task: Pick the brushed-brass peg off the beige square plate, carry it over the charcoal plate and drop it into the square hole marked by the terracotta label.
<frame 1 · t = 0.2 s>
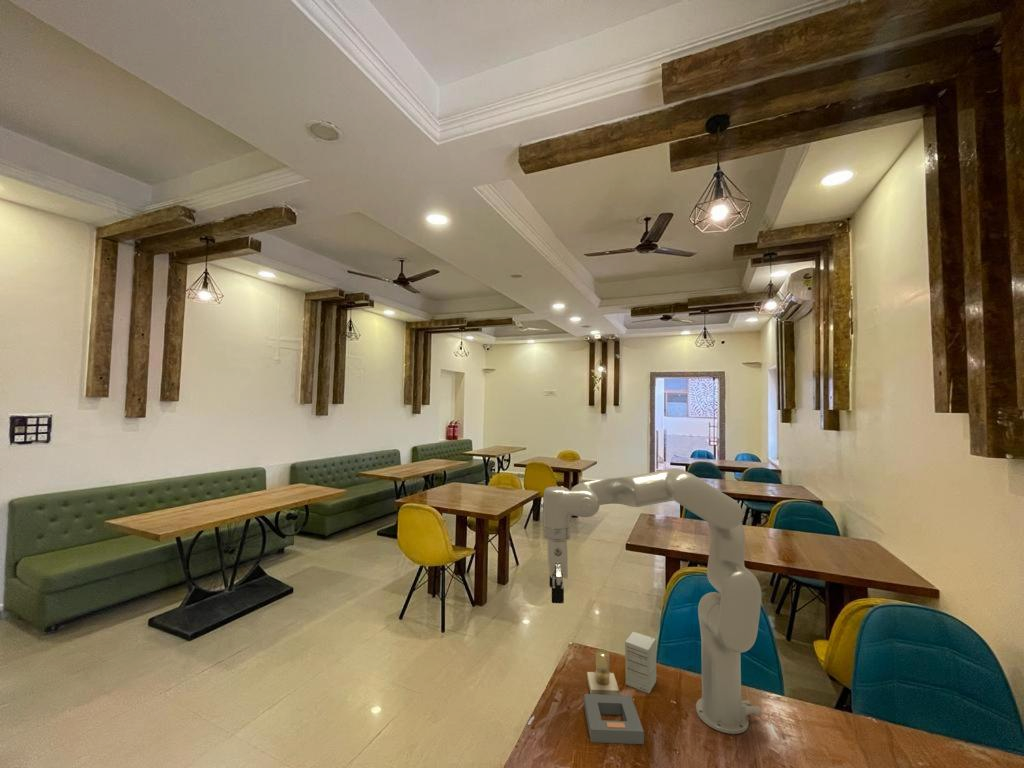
hand: (556, 594, 117), 31 cm above the table, fingers open, 9 cm apart
hole plate: (612, 723, 110), on the table
brass peg: (602, 680, 124), point 2 cm above the table, touching beige square plate
beige square plate: (602, 688, 124), on the table
supplement box: (641, 683, 127), on the table
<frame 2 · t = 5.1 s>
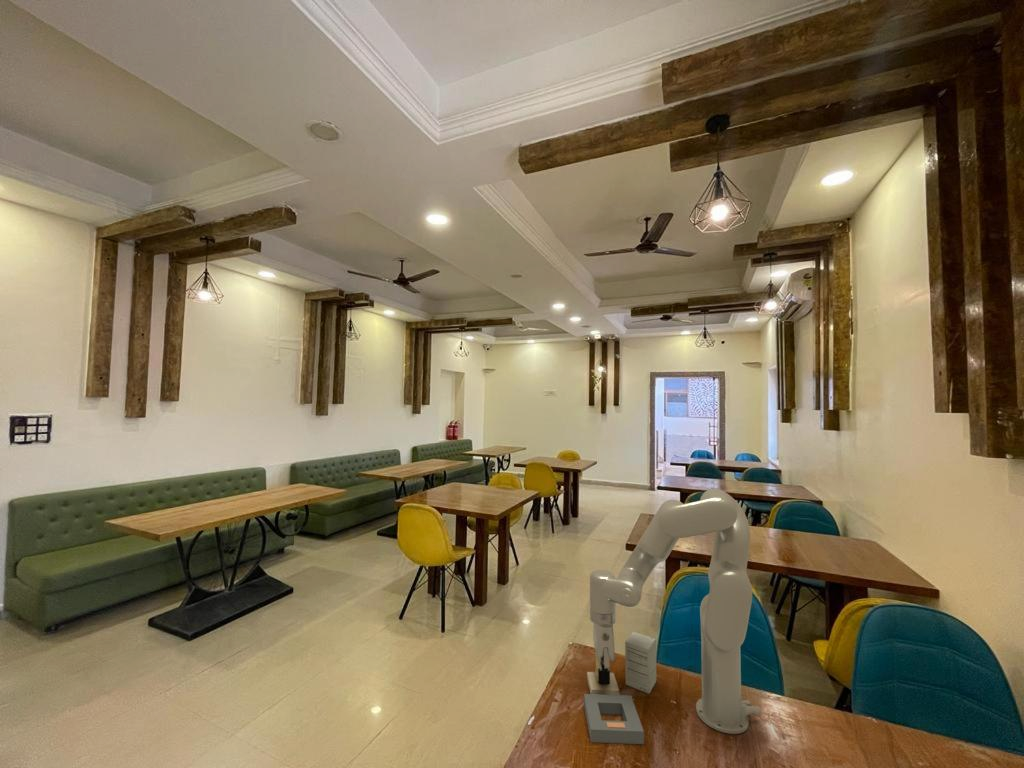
hand: (602, 677, 124), 3 cm above the table, fingers closed on brass peg, 4 cm apart
brass peg: (602, 680, 124), point 2 cm above the table, touching gripper, beige square plate
everything else where it was.
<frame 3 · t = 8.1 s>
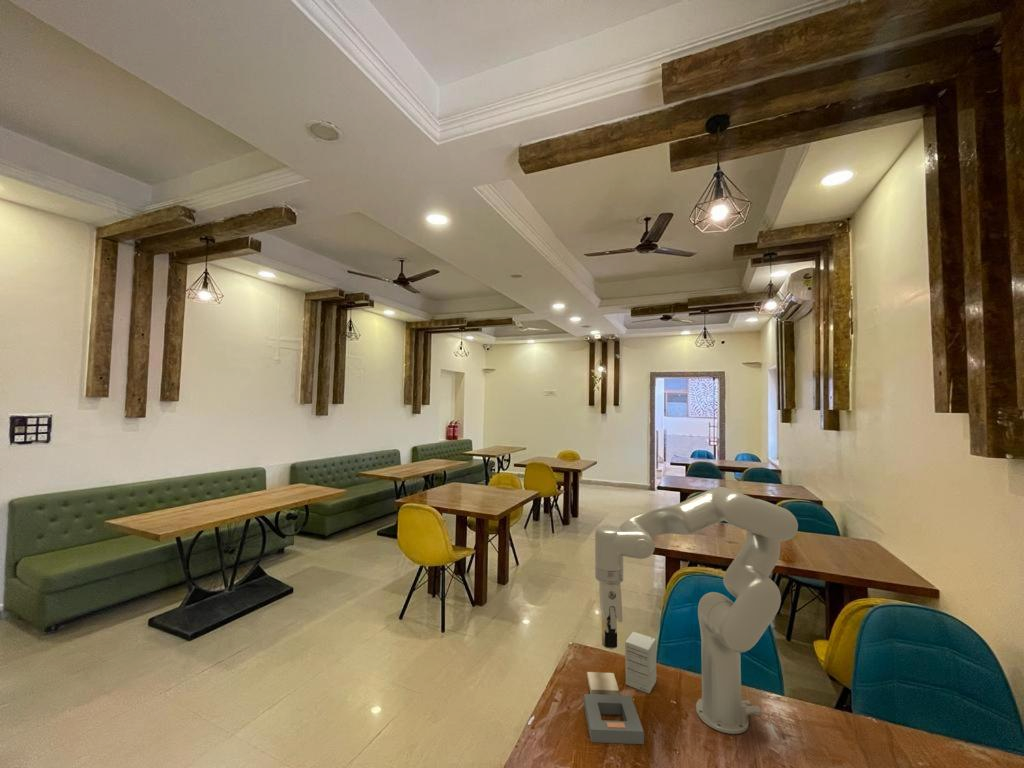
hand: (609, 641, 114), 19 cm above the table, fingers closed on brass peg, 4 cm apart
brass peg: (609, 644, 114), point 18 cm above the table, touching gripper
everything else where it was.
when the fingers open (5 cm above the table, at t = 11.6 s): brass peg drops 4 cm, resting in hole plate.
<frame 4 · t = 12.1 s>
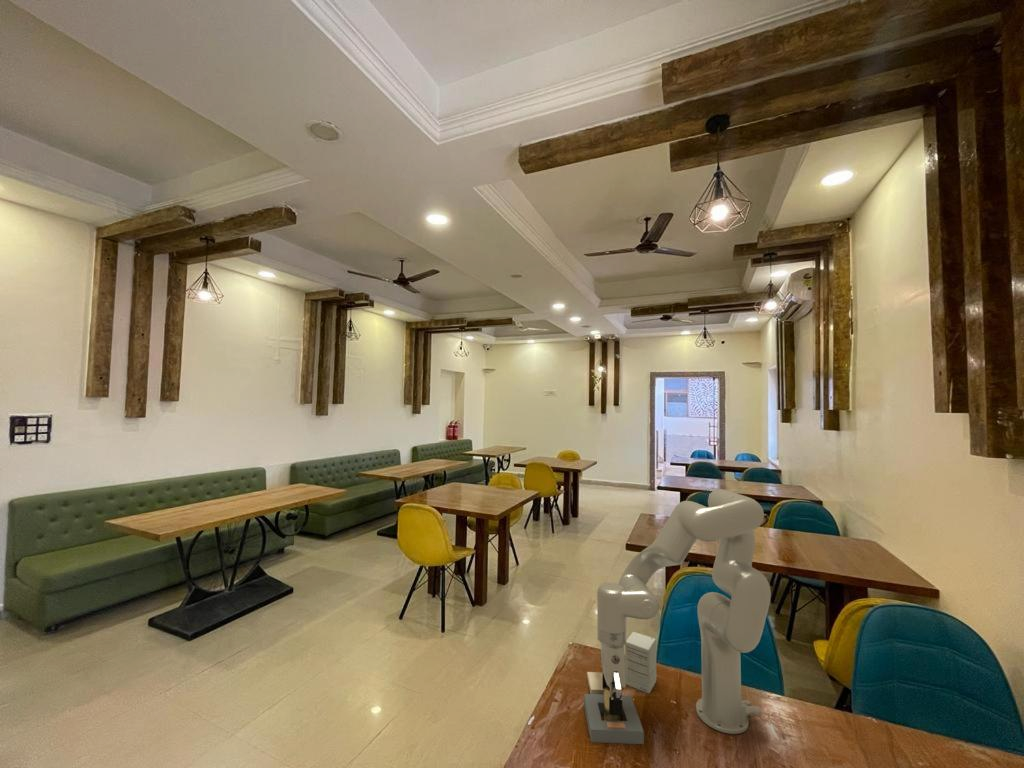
hand: (612, 701, 110), 6 cm above the table, fingers open, 9 cm apart
brass peg: (611, 723, 110), resting in hole plate
everything else where it was.
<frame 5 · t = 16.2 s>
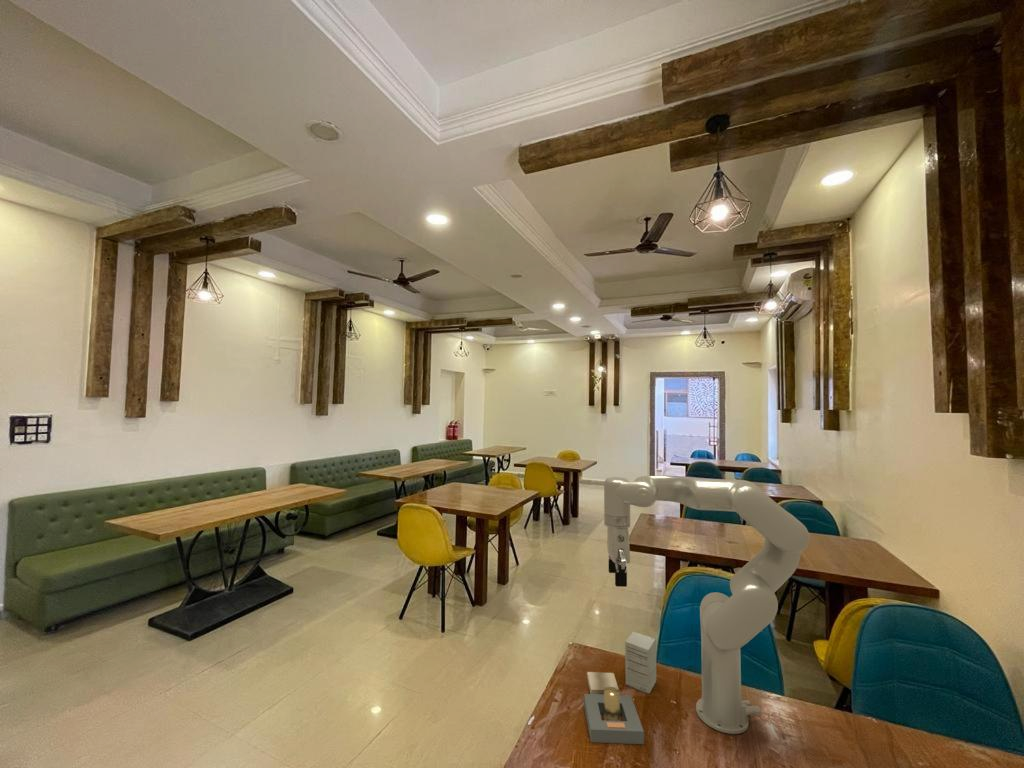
hand: (617, 579, 124), 32 cm above the table, fingers open, 9 cm apart
nothing on the table moved.
at the end: brass peg 0.1 cm off-centre on the hole plate, point 0.0 cm above the hole plate's base; the gripper is holding nothing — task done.
